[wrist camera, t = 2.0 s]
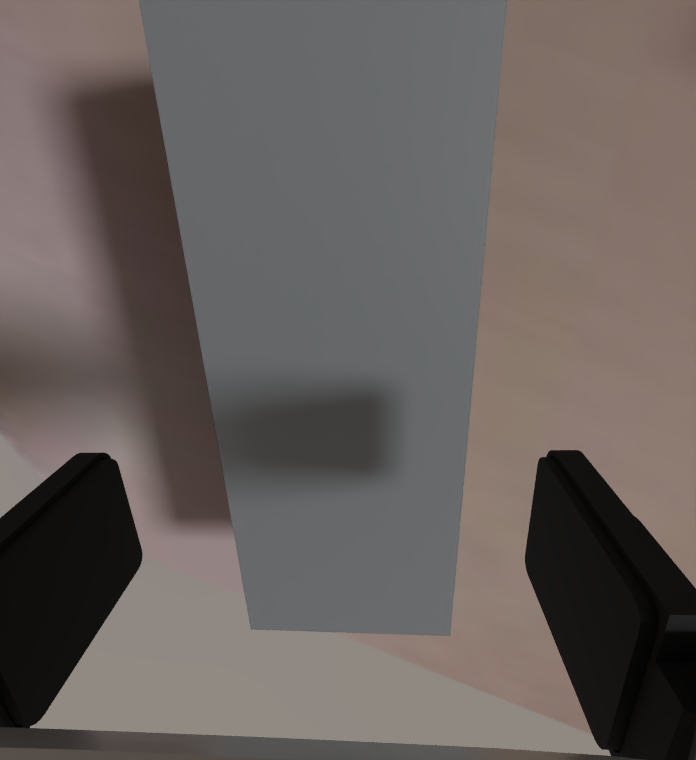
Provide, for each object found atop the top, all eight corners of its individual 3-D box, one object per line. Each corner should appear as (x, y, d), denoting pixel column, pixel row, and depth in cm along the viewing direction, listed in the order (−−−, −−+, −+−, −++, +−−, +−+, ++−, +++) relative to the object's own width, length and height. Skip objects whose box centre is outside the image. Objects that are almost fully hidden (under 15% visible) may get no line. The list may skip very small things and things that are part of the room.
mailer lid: (193, 39, 12) (137, -5, 9) (477, 21, 11) (509, -30, 9) (268, 566, 20) (251, 629, 17) (439, 570, 19) (450, 635, 16)
